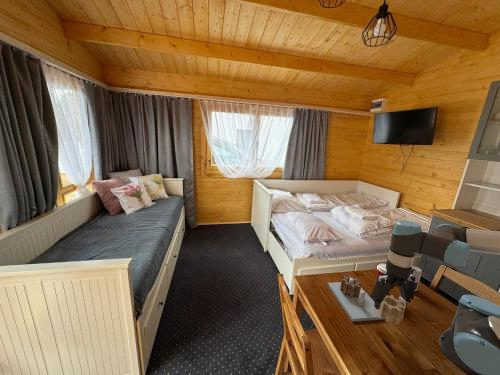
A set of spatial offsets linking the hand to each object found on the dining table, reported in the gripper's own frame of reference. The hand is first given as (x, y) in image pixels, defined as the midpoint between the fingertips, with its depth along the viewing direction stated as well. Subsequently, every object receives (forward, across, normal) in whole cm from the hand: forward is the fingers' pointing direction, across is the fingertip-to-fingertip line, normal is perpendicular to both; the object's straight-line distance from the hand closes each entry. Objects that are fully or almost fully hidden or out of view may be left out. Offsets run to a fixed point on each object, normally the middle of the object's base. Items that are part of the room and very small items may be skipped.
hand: (388, 314), depth 81 cm
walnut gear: (+8, +2, -22) cm, 23 cm away
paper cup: (+10, -16, -23) cm, 30 cm away
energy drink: (+10, -34, -24) cm, 43 cm away
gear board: (+9, +2, -18) cm, 20 cm away
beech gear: (0, 0, 0) cm, 0 cm away
